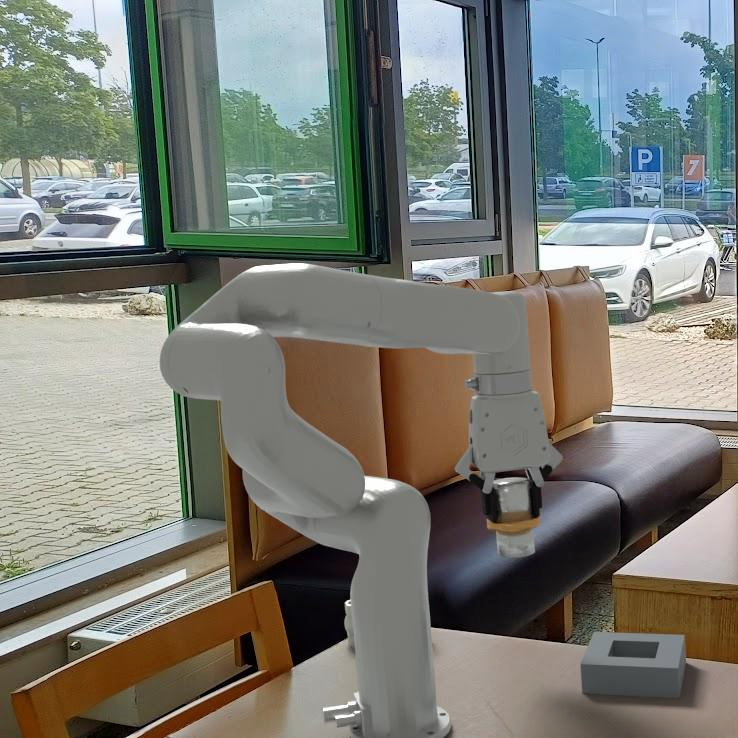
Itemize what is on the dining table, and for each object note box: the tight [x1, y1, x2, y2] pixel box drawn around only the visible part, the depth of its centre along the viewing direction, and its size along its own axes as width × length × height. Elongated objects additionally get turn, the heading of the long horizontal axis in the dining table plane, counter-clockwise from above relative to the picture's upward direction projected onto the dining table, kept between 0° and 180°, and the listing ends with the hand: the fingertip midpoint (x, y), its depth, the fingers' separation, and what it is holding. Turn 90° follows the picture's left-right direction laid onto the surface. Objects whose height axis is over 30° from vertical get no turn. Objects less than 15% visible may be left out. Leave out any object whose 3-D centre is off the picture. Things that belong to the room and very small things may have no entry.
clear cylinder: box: [486, 477, 542, 559], centre depth 155 cm, size 7×7×10 cm
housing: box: [580, 631, 687, 699], centre depth 149 cm, size 12×12×5 cm
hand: (512, 515), depth 155 cm, fingers closed on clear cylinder, 5 cm apart
